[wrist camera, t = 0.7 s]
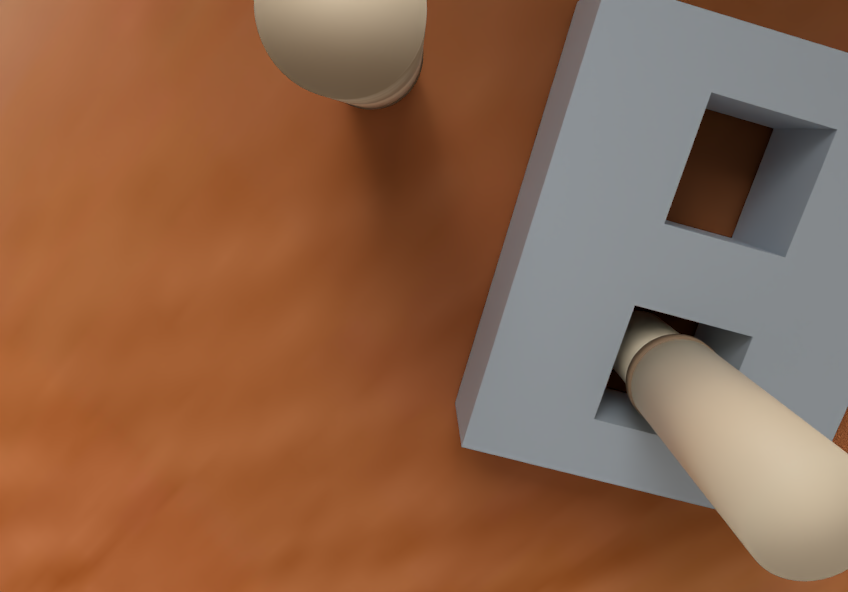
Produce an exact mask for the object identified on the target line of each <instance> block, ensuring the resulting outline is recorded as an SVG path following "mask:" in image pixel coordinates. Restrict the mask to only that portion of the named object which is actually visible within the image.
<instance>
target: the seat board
mask: <svg viewBox="0 0 848 592" xmlns="http://www.w3.org/2000/svg"><path fill="white" fill-rule="evenodd" d="M705 109H709V110H712V111H716V112H719V113H722V114H726V115H729V116H733V117H736V118H740V119H743V120H746V121H750V122H753V123H757V124H760V125H763V126H767V127H770V128H774V129H773V132H772V135H771V137H770V140H769V142H768V145H767V148H766V150H765V153H764V155H763V158H762V161H761V163H760V166H759V168H758V171H757V174H756V176H755V179H754V181H753V184H752V187H751V189H750V192H749V194H748V197H747V200H746V202H745V205H744V207H743V210H742V213H741V215H740V218H739V220H738V223H737V226H736V228H735V231H734V233H733V236H732V238H729V237H726V236H722V235H718V234H715V233H711V232H708V231H704V230H700V229H697V228H693V227H690V226H686V225H683V224H679V223H675V222H672V221H668V220H666V217H667V215H668V212H669V209H670V206H671V204H672V201H673V198H674V195H675V192H676V190H677V187H678V184H679V181H680V178H681V176H682V173H683V170H684V167H685V165H686V162H687V159H688V156H689V153H690V151H691V148H692V145H693V142H694V139H695V137H696V134H697V131H698V128H699V126H700V123H701V120H702V117H703V114H704V112H705ZM635 306H639V307H643V308H647V309H650V310H654V311H658V312H662V313H665V314H669V315H673V316H677V317H680V318H684V319H688V320H691V321H695V322H699V324H698V327H697V329H696V332H695V335H694V337H692V336H690V335H685V334H679V333H678V332H677V331H675V330H674V329H673V328H672V327H670V326H669V325H668V324H667V323H665V322H664V321H663V320H662V319H660V318H659V317H658V316H656V315H654V314H652V313H650V312H646V311H633V309H634V307H635ZM612 368H613V369H614V370H615V371H616V372H617V373H618V375H619V376H620V377H621V378H622V380H623V381H624V382H625V383H626V391H627V393H624V392H620V391H616V390H612V389H608V388H605V387H606V384H607V382H608V379H609V376H610V373H611V371H612ZM455 405H456V412H457V419H458V426H459V433H460V439H461V446H462V447H464V448H468V449H472V450H476V451H480V452H484V453H488V454H492V455H496V456H501V457H505V458H509V459H513V460H517V461H521V462H525V463H529V464H533V465H537V466H541V467H545V468H549V469H553V470H558V471H562V472H566V473H570V474H574V475H578V476H582V477H586V478H590V479H594V480H598V481H602V482H606V483H610V484H614V485H619V486H623V487H627V488H631V489H635V490H639V491H643V492H647V493H651V494H655V495H659V496H663V497H667V498H671V499H676V500H680V501H684V502H688V503H692V504H696V505H700V506H704V507H708V508H712V509H716V510H717V512H718V513H719V514H720V515H721V517H722V518H723V519H724V521H725V522H726V523H727V524H728V526H729V527H730V528H731V530H732V531H733V532H734V533H735V535H736V536H737V537H738V539H739V540H740V541H741V542H742V544H743V545H744V546H745V547H746V549H747V550H748V551H749V553H750V554H751V555H752V556H753V558H754V559H755V560H756V561H757V562H758V564H760V565H761V566H762V567H763V568H764V569H766V570H767V571H769V572H770V573H772V574H774V575H776V576H778V577H781V578H785V579H788V580H794V581H815V580H821V579H825V578H829V577H832V576H835V575H837V574H840V573H842V572H843V571H845V570H847V569H848V454H847V453H846V452H845V451H844V450H842V449H841V448H840V447H838V446H837V445H836V444H834V443H833V442H832V440H833V438H834V436H835V433H836V431H837V429H838V427H839V425H840V422H841V420H842V418H843V416H844V413H845V411H846V409H847V407H848V53H847V52H844V51H840V50H837V49H834V48H830V47H827V46H824V45H821V44H817V43H814V42H811V41H808V40H804V39H801V38H798V37H794V36H791V35H788V34H785V33H781V32H778V31H775V30H772V29H768V28H765V27H762V26H758V25H755V24H752V23H749V22H745V21H742V20H739V19H736V18H732V17H729V16H726V15H722V14H719V13H716V12H713V11H709V10H706V9H703V8H700V7H696V6H693V5H690V4H686V3H683V2H680V1H677V0H579V1H578V2H577V5H576V8H575V11H574V15H573V18H572V21H571V24H570V28H569V31H568V34H567V38H566V41H565V44H564V47H563V51H562V54H561V57H560V60H559V64H558V67H557V70H556V74H555V77H554V80H553V83H552V87H551V90H550V93H549V97H548V100H547V103H546V106H545V110H544V113H543V116H542V119H541V123H540V126H539V129H538V133H537V136H536V139H535V142H534V146H533V149H532V152H531V156H530V159H529V162H528V165H527V169H526V172H525V175H524V179H523V182H522V185H521V188H520V192H519V195H518V198H517V201H516V205H515V208H514V211H513V215H512V218H511V221H510V224H509V228H508V231H507V234H506V238H505V241H504V244H503V247H502V251H501V254H500V257H499V261H498V264H497V267H496V270H495V274H494V277H493V280H492V283H491V287H490V290H489V293H488V297H487V300H486V303H485V306H484V310H483V313H482V316H481V320H480V323H479V326H478V329H477V333H476V336H475V339H474V342H473V346H472V349H471V352H470V356H469V359H468V362H467V365H466V369H465V372H464V375H463V379H462V382H461V385H460V388H459V392H458V395H457V398H456V402H455Z"/></svg>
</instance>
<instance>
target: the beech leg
mask: <svg viewBox="0 0 848 592" xmlns="http://www.w3.org/2000/svg"><path fill="white" fill-rule="evenodd" d="M254 13H255V21H256V25H257V29H258V33H259V36H260V38H261V41H262V44H263V45H264V47H265V49H266V51H267V53H268V55H269V56H270V58H271V59H272V61H273V62H274V64H275V65H276V66H277V67H278V68H279V69H280V70H281V72H282V73H283V74H285V75H286V76H287V77H288V78H289V79H290V80H291V81H293V82H294V83H296V84H297V85H299V86H300V87H302V88H304V89H306V90H308V91H310V92H313V93H315V94H318V95H321V96H325V97H328V98H331V99H335V100H338V101H341V102H345V103H347V104H349V105H351V106H354V107H357V108H361V109H370V110H372V109H381V108H385V107H388V106H391V105H393V104H395V103H397V102H398V101H400V100H401V99H403V98H404V97H405V96H406V95H407V94H408V93H409V92H410V91H411V90H412V88H413V87H414V85H415V84H416V82H417V80H418V78H419V75H420V72H421V69H422V64H423V45H424V36H425V28H426V17H427V0H254Z"/></svg>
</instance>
